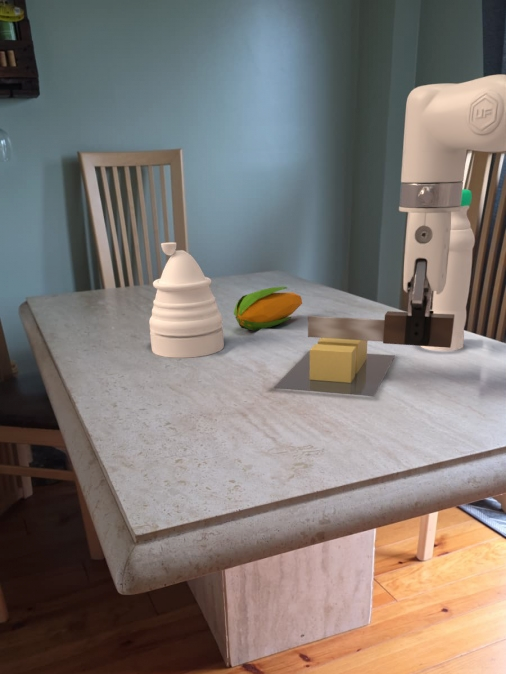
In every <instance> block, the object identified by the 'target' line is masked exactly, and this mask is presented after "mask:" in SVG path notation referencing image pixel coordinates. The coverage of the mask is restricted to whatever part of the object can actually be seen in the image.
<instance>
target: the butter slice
mask: <svg viewBox="0 0 506 674" xmlns="http://www.w3.org/2000/svg"><path fill="white" fill-rule="evenodd" d="M309 351H310V380H318V381H331V382H344V383H351V382H352V380H353V379H354V377H355V363H356V347H354V346H337V345H321V344H318V343H315V344H313V346H311V348H310V349H309Z"/></svg>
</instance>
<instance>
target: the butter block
mask: <svg viewBox="0 0 506 674" xmlns="http://www.w3.org/2000/svg"><path fill="white" fill-rule="evenodd" d="M317 344H321V345H337V346H354V347H356V363H355V374H357V373H358V371H359V370H360V368H361V367H362V365H363V364H364V362H365V360H366V359H367V354H368V341H365V340H349V339H333V338H319V340H318V341H317Z"/></svg>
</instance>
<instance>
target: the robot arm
mask: <svg viewBox="0 0 506 674" xmlns="http://www.w3.org/2000/svg"><path fill="white" fill-rule="evenodd" d="M404 115H405V116H404V132H403V145H402V146H403V148H402V158H401V160H402V161H401V172H400V173H401V175H400V190H399V201H398V202H399V204H398V211H399V212H402V213H407V218H406V231H405V242H404V257H403V258H404V259H403V260H404V261H403V279H402V280H403V282H402V285H403V291H404V292H405V293H406V294H408V304H407V305H408V306H407V312H408V315H406V328H405V340H404V343H405V344H406V345H405V346H415V347H417V346H418V347H421V346H427V345H428V344H429V337H430V326H431V316H429V314H430V313H433V312H434V311H430V310H432V307H433V297H434V291H437V294H440V293H441V292H442V291H443V290H444V287H445V284H446V277H447V265H448V255H449V245H450V233H451V212H454V211H460V208H461V206H460V205H461V198H462V189H464V188H463V187H464V178H465V171H466V170H465V169H466V161H467V160H466V159H467V151H476V152H484V153H502V152H506V74H492V75H486V76H483V77H479V78H475V79H472V80H468V81H464V82H459V83H451V82H450V83H449V82H448V83H447V82H446V83H432V84H426V85H420V86H417V87H414V88H413V89H412V90H411V91H410V92H409V94H408V96H407V99H406V106H405V114H404Z"/></svg>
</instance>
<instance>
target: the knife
mask: <svg viewBox="0 0 506 674" xmlns="http://www.w3.org/2000/svg"><path fill="white" fill-rule="evenodd" d="M406 315H408V311H391V310H390V311H389V310H387V311H386V313H385V314H384V319H376V318H356V317H338V316H337V317H335V316H316V315H308V316H307V337H308V338H319V339H321V338H333V339H349V340H365V341H367V342H368V341H369V342H382V344H385V345H399V346H401V345H402V346H407V345H406V344H405V343H404V340H405V328H406ZM429 316H431V326H430V337H429V344H428V345H427V346H430V347H446V348H450V347H451V343H452V334H453V325H454V316H455V315H454V314H434V313H430V314H429Z"/></svg>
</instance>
